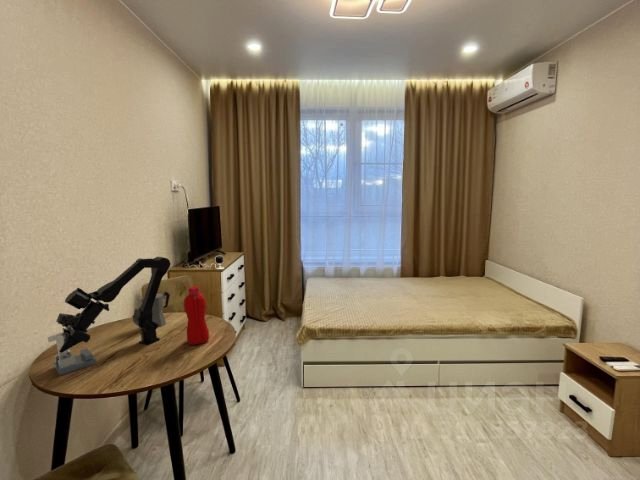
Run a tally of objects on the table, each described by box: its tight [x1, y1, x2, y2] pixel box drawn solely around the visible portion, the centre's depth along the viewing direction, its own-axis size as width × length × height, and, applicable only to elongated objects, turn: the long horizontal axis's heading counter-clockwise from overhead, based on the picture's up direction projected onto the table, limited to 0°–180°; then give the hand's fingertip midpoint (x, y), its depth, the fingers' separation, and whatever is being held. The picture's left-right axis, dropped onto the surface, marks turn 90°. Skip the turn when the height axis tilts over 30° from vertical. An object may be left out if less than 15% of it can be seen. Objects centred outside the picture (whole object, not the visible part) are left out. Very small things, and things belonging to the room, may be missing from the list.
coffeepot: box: [140, 291, 171, 328], centre depth 178 cm, size 15×9×18 cm, turn 147°
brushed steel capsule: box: [47, 332, 71, 360], centre depth 133 cm, size 6×4×12 cm, turn 137°
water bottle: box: [183, 286, 210, 346], centre depth 154 cm, size 9×11×25 cm
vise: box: [53, 348, 97, 376], centre depth 137 cm, size 12×10×5 cm
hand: (59, 350), depth 133 cm, fingers closed on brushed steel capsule, 4 cm apart
